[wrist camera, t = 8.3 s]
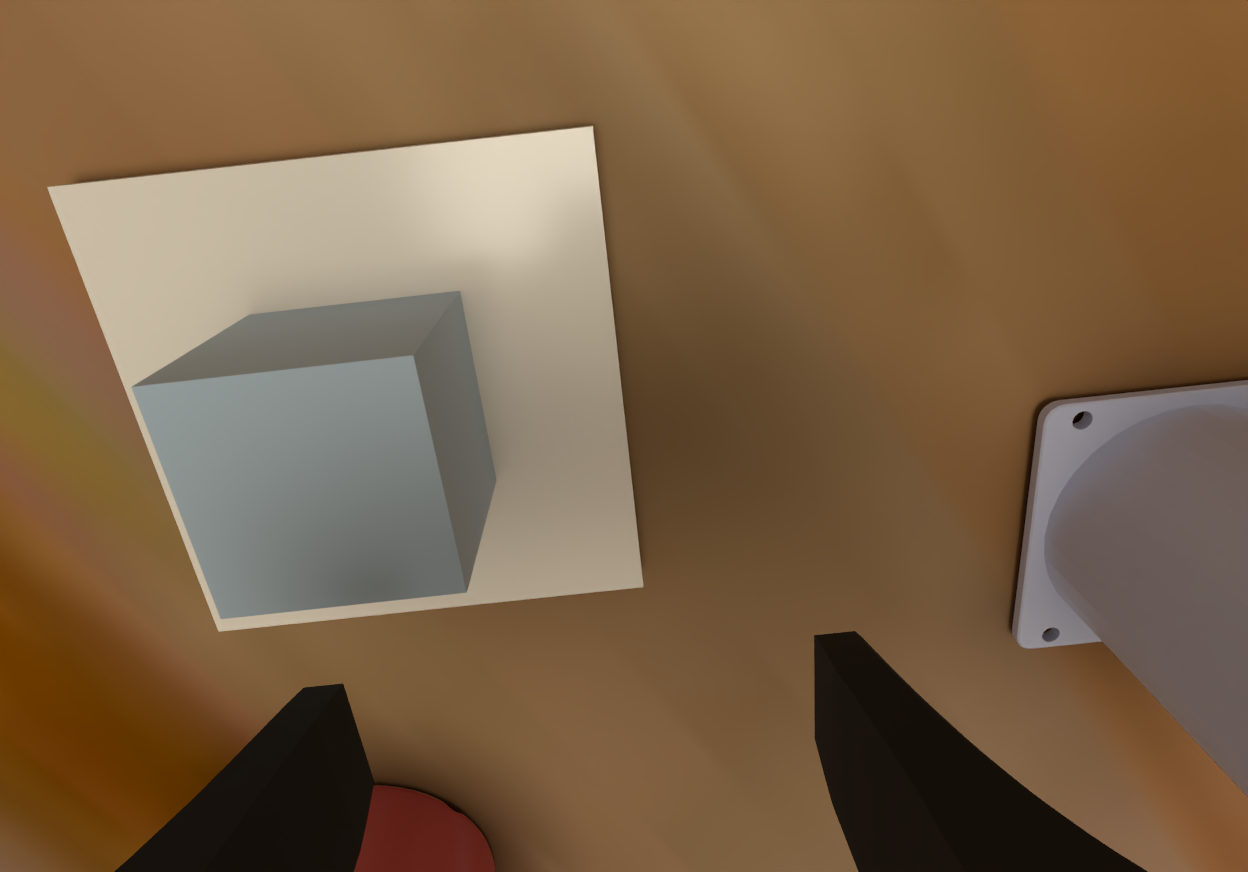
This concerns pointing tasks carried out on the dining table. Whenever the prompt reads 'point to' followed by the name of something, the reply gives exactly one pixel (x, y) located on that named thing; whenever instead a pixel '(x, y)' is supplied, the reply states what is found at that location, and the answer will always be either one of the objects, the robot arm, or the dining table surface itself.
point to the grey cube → (328, 454)
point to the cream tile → (392, 268)
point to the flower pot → (419, 836)
